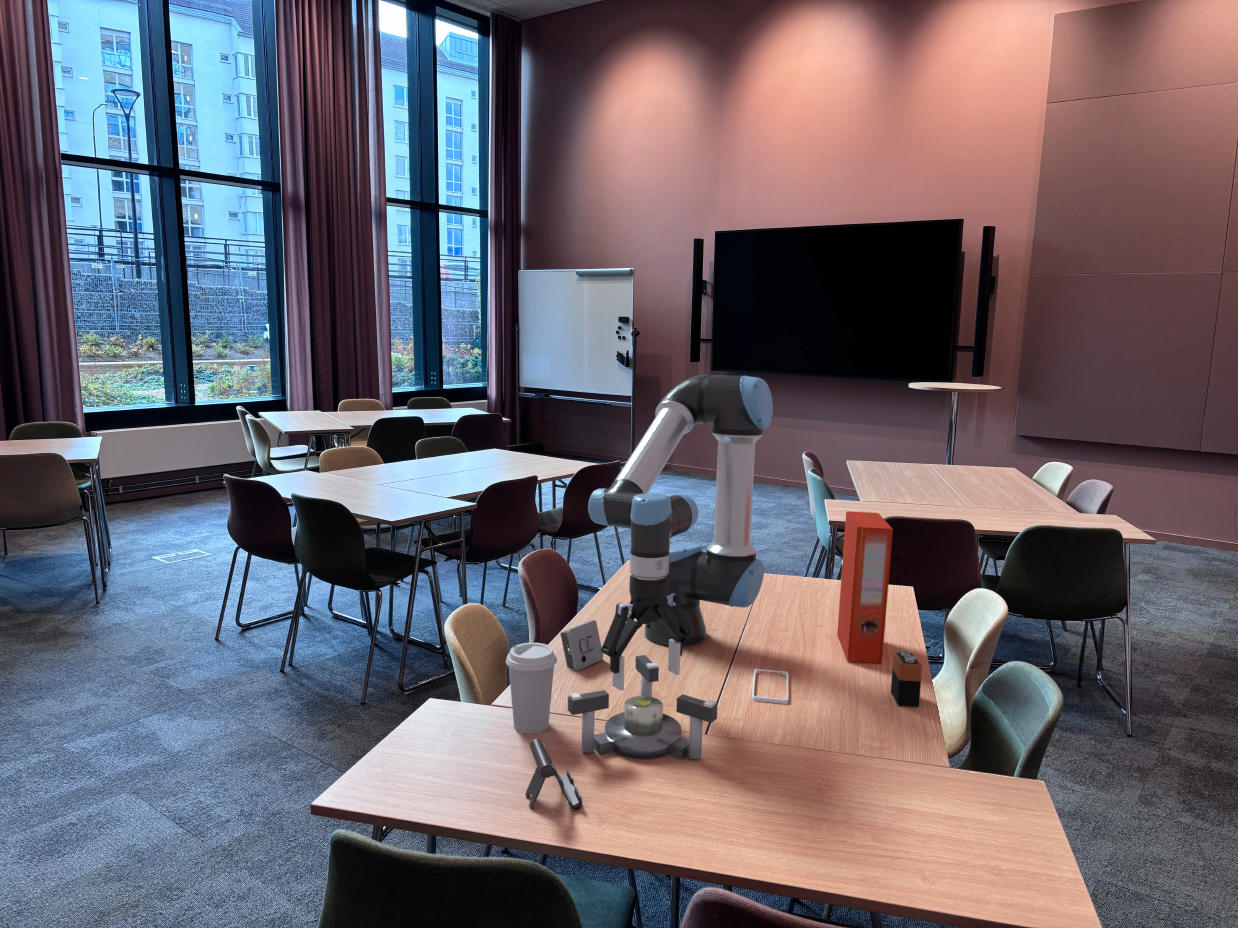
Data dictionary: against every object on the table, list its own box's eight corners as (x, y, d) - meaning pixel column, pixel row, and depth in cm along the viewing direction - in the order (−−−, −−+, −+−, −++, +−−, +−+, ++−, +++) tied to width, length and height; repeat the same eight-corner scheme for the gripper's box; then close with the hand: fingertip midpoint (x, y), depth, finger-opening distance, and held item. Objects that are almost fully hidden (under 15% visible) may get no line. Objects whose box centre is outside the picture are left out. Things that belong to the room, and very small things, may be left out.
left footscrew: (674, 752, 147) (676, 695, 145) (681, 747, 149) (682, 691, 147) (709, 764, 143) (711, 706, 142) (715, 759, 145) (717, 701, 143)
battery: (897, 706, 168) (901, 659, 167) (889, 692, 175) (893, 647, 173) (919, 707, 168) (923, 661, 166) (911, 693, 175) (914, 648, 173)
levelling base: (638, 711, 164) (639, 674, 162) (712, 735, 154) (713, 696, 153) (582, 748, 149) (582, 707, 148) (660, 777, 140) (661, 734, 138)
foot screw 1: (603, 742, 150) (604, 686, 148) (608, 748, 148) (609, 691, 146) (567, 750, 147) (567, 693, 145) (571, 756, 145) (572, 698, 143)
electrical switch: (577, 672, 182) (574, 631, 182) (559, 668, 186) (557, 627, 185) (604, 660, 190) (602, 620, 189) (587, 656, 193) (584, 617, 192)
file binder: (870, 637, 207) (878, 512, 202) (883, 664, 190) (893, 528, 185) (837, 635, 208) (844, 511, 203) (847, 662, 191) (855, 526, 186)
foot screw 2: (634, 704, 166) (635, 653, 164) (644, 703, 167) (645, 652, 165) (647, 719, 159) (648, 666, 158) (657, 718, 160) (659, 665, 159)
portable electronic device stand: (582, 810, 129) (583, 760, 128) (532, 817, 127) (533, 767, 126) (569, 781, 138) (570, 734, 137) (522, 787, 136) (523, 740, 134)
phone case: (788, 706, 169) (788, 677, 183) (788, 699, 168) (788, 671, 183) (751, 702, 170) (754, 674, 185) (751, 696, 170) (754, 668, 184)
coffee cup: (535, 709, 164) (535, 637, 161) (566, 726, 157) (567, 650, 155) (495, 724, 157) (495, 649, 155) (527, 742, 150) (527, 664, 148)
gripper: (606, 590, 149) (604, 701, 152) (711, 570, 163) (707, 672, 166) (583, 579, 155) (582, 687, 158) (686, 561, 169) (683, 660, 172)
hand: (646, 680), depth 162 cm, fingers open, 13 cm apart
